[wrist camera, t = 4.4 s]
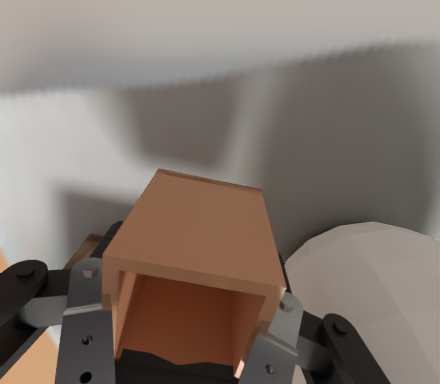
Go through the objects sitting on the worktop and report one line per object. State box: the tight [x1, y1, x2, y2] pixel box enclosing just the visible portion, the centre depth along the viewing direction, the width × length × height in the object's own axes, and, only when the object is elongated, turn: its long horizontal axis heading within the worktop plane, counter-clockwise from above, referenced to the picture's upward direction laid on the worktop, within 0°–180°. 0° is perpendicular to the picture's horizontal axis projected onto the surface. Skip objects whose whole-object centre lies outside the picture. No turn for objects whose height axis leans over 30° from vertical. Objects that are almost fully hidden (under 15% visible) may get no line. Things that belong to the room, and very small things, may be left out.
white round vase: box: [284, 221, 440, 384], centre depth 16 cm, size 13×13×14 cm
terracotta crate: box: [102, 169, 287, 378], centre depth 12 cm, size 6×6×7 cm
